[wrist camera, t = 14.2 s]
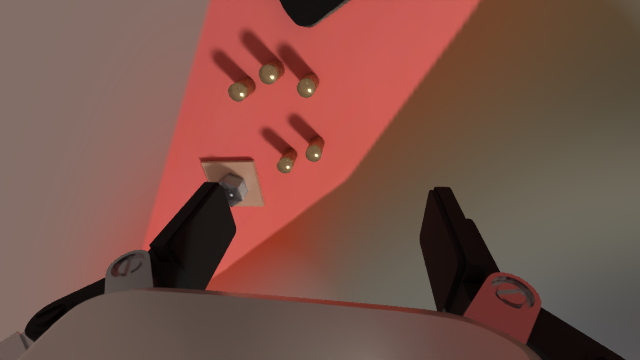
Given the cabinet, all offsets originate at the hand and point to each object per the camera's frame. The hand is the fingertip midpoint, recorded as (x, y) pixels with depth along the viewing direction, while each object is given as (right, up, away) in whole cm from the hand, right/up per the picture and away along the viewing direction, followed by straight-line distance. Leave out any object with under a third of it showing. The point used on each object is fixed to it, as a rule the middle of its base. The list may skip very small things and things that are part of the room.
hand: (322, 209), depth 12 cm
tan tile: (-17, +1, +39) cm, 42 cm away
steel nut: (-17, 0, +38) cm, 42 cm away
